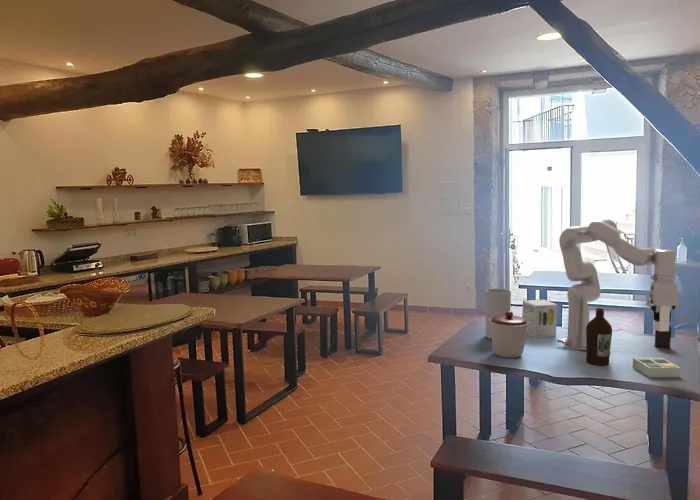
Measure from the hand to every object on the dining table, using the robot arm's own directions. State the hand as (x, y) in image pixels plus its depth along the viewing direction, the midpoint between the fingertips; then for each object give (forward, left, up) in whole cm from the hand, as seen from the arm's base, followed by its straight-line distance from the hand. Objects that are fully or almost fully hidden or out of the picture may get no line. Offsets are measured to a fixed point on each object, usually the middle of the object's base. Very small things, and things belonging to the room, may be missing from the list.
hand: (661, 320), depth 231 cm
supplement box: (-32, +57, -22) cm, 69 cm away
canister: (-59, +21, -22) cm, 67 cm away
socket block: (-3, -3, -22) cm, 22 cm away
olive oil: (-22, +9, -22) cm, 33 cm away
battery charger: (+21, +33, -22) cm, 45 cm away
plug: (0, 0, -4) cm, 4 cm away
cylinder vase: (-56, +51, -22) cm, 79 cm away
